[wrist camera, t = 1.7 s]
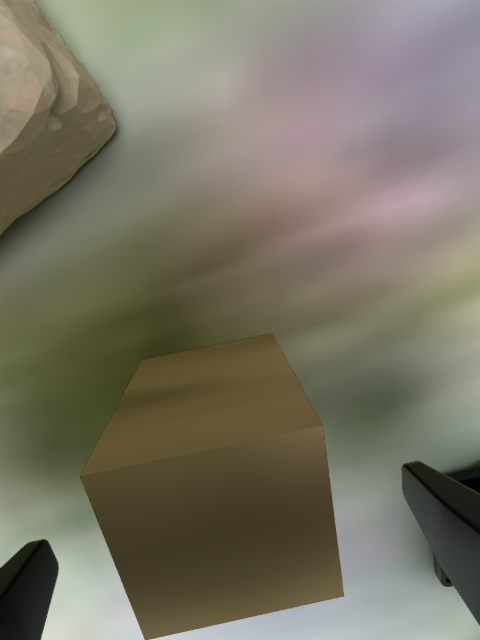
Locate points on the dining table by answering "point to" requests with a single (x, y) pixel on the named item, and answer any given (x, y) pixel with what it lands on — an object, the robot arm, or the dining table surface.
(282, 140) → the dining table surface
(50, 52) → the brick
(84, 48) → the dining table surface
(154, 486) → the walnut block
